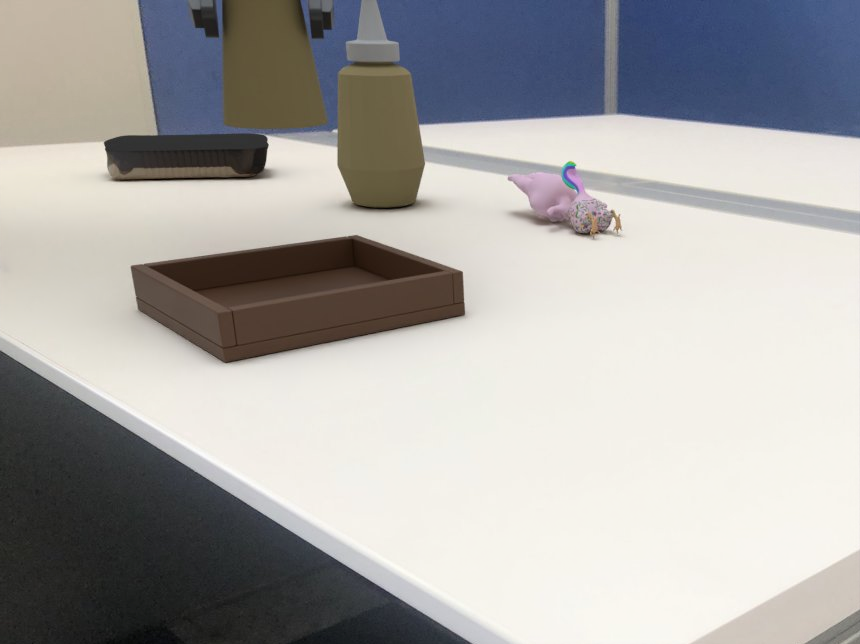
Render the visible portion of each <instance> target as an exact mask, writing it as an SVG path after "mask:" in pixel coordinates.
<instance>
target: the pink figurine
mask: <svg viewBox="0 0 860 644" xmlns="http://www.w3.org/2000/svg"><path fill="white" fill-rule="evenodd" d="M576 167H577V163H575V162H574V161H572V160H569V161H567V162H566V163H565V164H564V165H563V167H562V169H561V174H557V173H548V172H544V171H536V172H532V173H531V172H530V173H529V174H526V175H523V174H521V173H513V174H509V175H508V176H507V181H509V182H512V183H513V184H514V185H515V186H516V187H517V188H518V189H519V191H521V192H522V193H523V194H525V195H526V196H527V198H528V202H529V206H530V208H531V209H532V210H533V211H534V213H536V214H537V215H539V216H541V217H543V218H547V219H548V220H549V221H550V222H552V223H557V222H562V221H564V219H565V220H567V221H569V222H571V225H572V227H573V229H574V230H575V231H576V232H577V233H578V234H581V233H585V234H588V233H589V234H590V235H591V236H592V238H593V237H594V238H595V233H596V232H597V233H598V234H601V232H606V230H608V229H609V227H610V226H611V224H612V221H613V218H614V220H615V225H614V227H613V230H612V231H613V232H615V231H616V234H617V235H618V234H619V230H620V231H624V230H623V229H622V224H621V218H620V217H621V215H622V214H621V213H619V214H618V216H617V214H616V211H615V209H610V210H609V209H607V208H608V204H607V203H605V202H602V201H601V200H600V199H598V198H596V197H593V196H592V195H590V194H589V193H587V191H586V188H585V185H584V182H583V181H582V179H581V178H580V176H579V173H578V172H577V169H576Z"/></svg>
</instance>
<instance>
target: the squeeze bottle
mask: <svg viewBox="0 0 860 644" xmlns="http://www.w3.org/2000/svg"><path fill="white" fill-rule="evenodd" d="M359 11H360V12H359V20H358V28H357V37H356V39H354V40H348V41H346V42H345V49H346V60H347V61H349V62H353V63H351V64H348V65H346V66H344V67H342V68H341V69H340V70H339V71H338V72H337V145H336V146H337V149H336V151H337V152H336V153H337V160H336V161H337V162H336V163H337V168H338V170H339V172H340V175H341V177H342V180H343V182H344V184H345V187H346V189H347V192H348V194H349V196H350V199H351V201H352V203H353V204H355V205H357V206H363V207H366V208H374V209H392V208H400V207H404V206H408V205H412V204H414V203H415V202H416V201H417V198H418V194H419V190H420V186H421V182H422V178H423V174H424V170H425V166H426V160H425V154H424V147H423V142H422V141H423V140H422V135H421V128H420V124H419V123H420V122H419V118H418V117H419V116H418V109H417V103H416V96H415V90H414V84H413V78H412V73H411V72H410V71H409V70H408V69H407V68H406V67H403V66H401V65H398V64H396V63H397V62H400V61H401V58H400V43H399V42H398V41H393V40H389V39H388V38H387V33H386V31H385V27H384V23H383V19H382V16H381V13H380V9H379V4H378V2H377V0H361V2H360V10H359Z"/></svg>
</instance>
